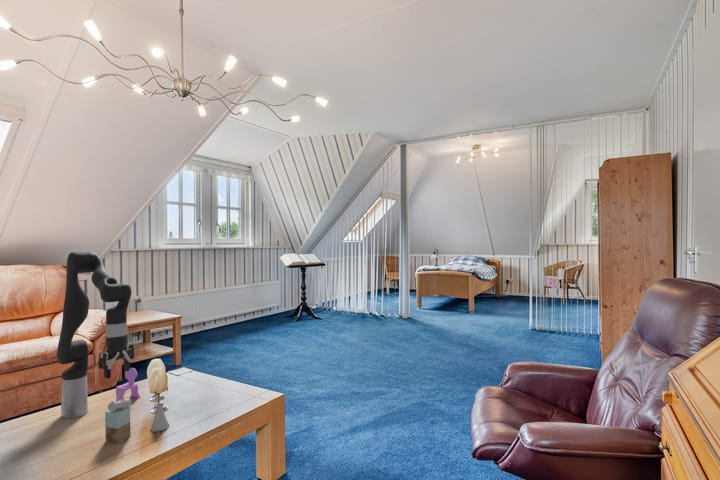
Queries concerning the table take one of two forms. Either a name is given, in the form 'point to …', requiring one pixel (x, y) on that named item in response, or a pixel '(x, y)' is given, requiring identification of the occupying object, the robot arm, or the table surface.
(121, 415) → the tower top
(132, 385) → the purple figure shape
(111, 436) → the tower bottom
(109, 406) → the mannequin head
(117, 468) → the table surface
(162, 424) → the flask
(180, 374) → the table surface
